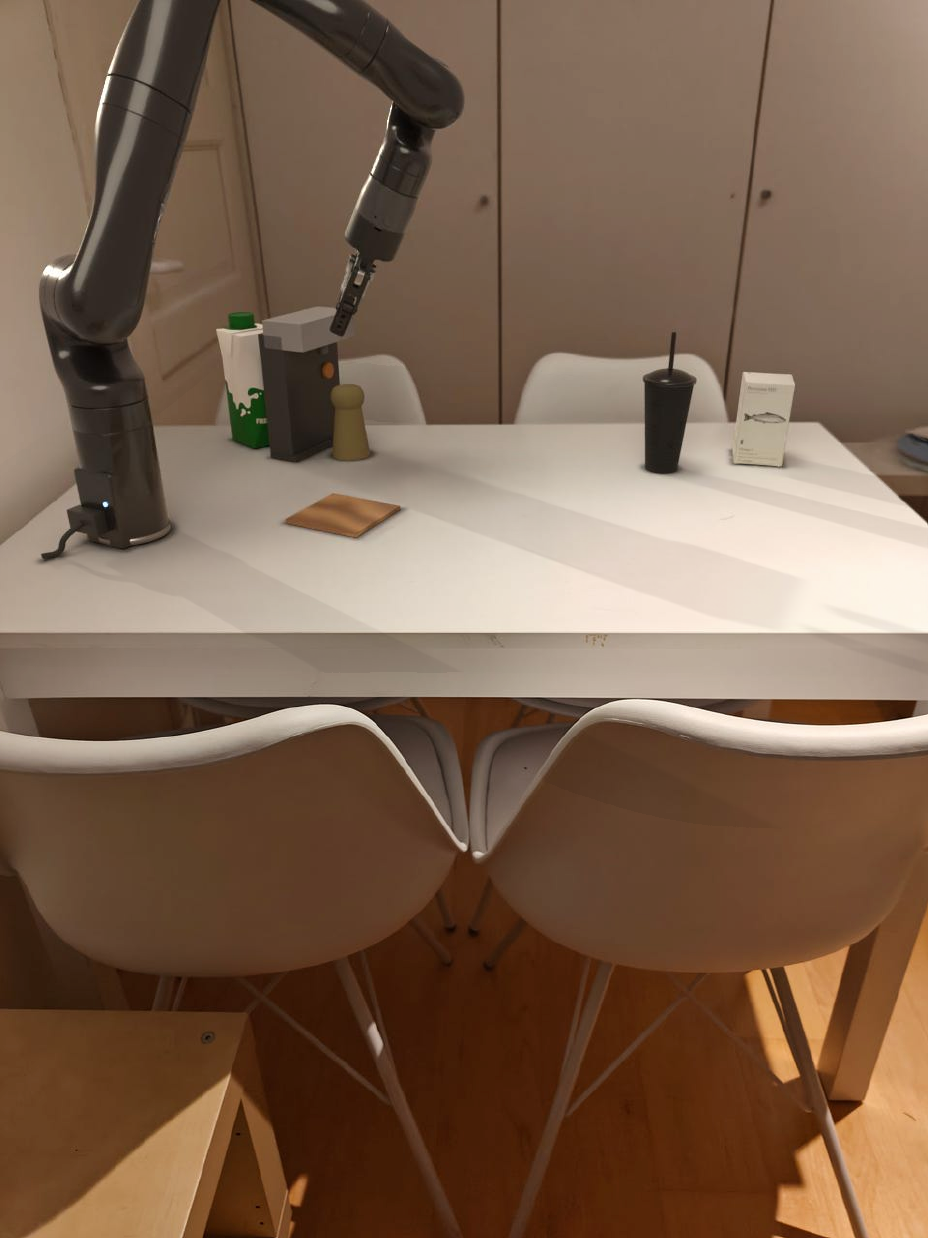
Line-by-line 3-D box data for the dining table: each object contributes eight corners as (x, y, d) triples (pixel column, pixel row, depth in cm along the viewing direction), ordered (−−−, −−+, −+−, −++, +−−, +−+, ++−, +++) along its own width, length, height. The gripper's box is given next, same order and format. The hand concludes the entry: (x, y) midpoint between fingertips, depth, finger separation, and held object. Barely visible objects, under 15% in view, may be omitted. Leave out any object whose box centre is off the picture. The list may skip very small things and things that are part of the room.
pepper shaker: (363, 461, 144) (359, 390, 139) (326, 459, 145) (321, 389, 140) (374, 449, 149) (371, 381, 144) (339, 447, 150) (334, 379, 145)
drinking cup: (628, 471, 139) (639, 334, 130) (644, 457, 145) (656, 325, 136) (678, 479, 136) (693, 339, 126) (692, 464, 142) (707, 330, 132)
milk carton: (269, 429, 160) (257, 308, 151) (298, 440, 154) (287, 315, 145) (224, 439, 155) (208, 315, 146) (252, 451, 149) (237, 322, 140)
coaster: (356, 537, 117) (355, 533, 117) (285, 523, 121) (285, 519, 121) (400, 509, 126) (400, 505, 125) (333, 497, 130) (332, 493, 130)
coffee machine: (312, 464, 143) (300, 324, 133) (270, 457, 146) (256, 319, 136) (361, 440, 154) (354, 309, 144) (322, 434, 157) (311, 305, 147)
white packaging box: (732, 464, 142) (743, 381, 136) (731, 450, 148) (742, 370, 142) (782, 467, 140) (796, 384, 134) (780, 453, 147) (792, 372, 141)
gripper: (359, 190, 131) (320, 295, 140) (351, 217, 119) (308, 329, 128) (408, 215, 133) (366, 316, 142) (405, 243, 121) (359, 352, 130)
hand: (338, 322), depth 135 cm, fingers open, 8 cm apart
